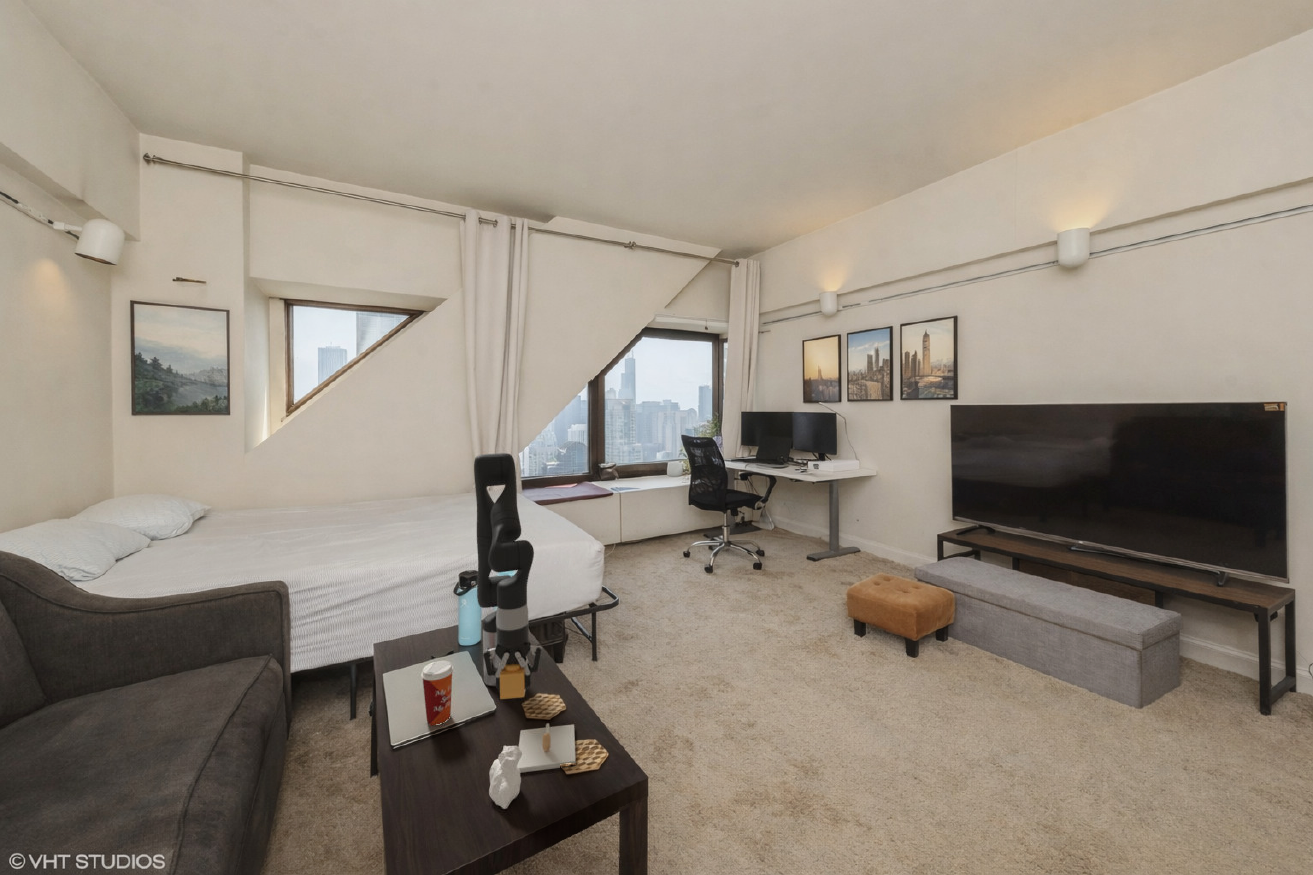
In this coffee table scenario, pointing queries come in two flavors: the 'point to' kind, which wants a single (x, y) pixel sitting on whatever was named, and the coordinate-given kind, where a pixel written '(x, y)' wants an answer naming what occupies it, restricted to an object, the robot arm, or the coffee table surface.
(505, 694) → the domed orange cube
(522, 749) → the plate
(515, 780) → the bust
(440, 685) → the coffee cup
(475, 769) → the coffee table surface
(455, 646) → the coffee table surface
